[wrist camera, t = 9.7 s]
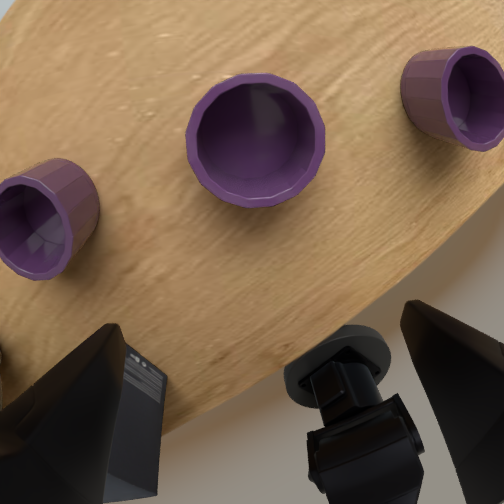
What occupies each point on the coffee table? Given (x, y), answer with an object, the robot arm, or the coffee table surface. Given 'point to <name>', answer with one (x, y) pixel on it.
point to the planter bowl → (0, 386)
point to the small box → (136, 432)
